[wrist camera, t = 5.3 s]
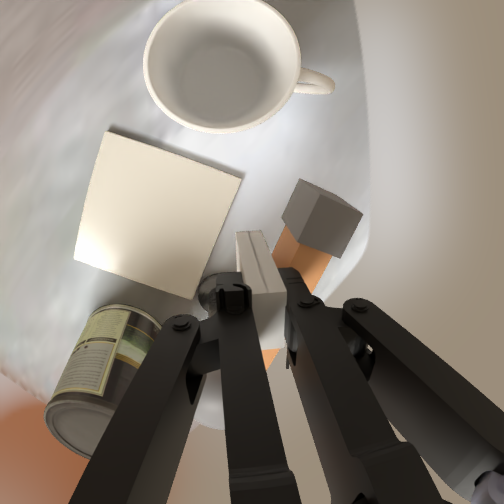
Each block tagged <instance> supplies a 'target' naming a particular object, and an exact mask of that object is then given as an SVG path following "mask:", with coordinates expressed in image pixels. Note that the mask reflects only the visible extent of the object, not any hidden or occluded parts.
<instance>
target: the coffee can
mask: <svg viewBox="0 0 504 504" xmlns="http://www.w3.org/2000/svg"><path fill="white" fill-rule="evenodd" d="M161 328H162V326H161V325H160V324H159V323H158V322H157V321H156V320H155V319H154V318H153V317H152V316H150V315H149V314H147V313H146V312H144V311H142V310H140V309H138V308H135V307H132V306H128V305H121V304H114V305H107V306H104V307H101V308H99V309H97V310H96V311H95V312H93V313H92V314H91V316H90V317H89V318H88V321H87V323H86V326H85V328H84V330H83V332H82V334H81V336H80V338H79V340H78V342H77V344H76V346H75V348H74V350H73V352H72V354H71V356H70V358H69V360H68V363H67V365H66V367H65V369H64V371H63V373H62V376H61V378H60V380H59V382H58V384H57V387H56V389H55V391H54V393H53V396H52V398H51V400H50V402H49V403H48V404H47V406H46V408H45V411H44V421H45V424H46V426H47V428H48V429H49V431H50V432H51V434H52V435H53V436H54V437H55V438H56V439H57V440H58V441H59V442H60V443H62V444H63V445H64V446H65V447H67V448H68V449H70V450H71V451H73V452H75V453H76V454H79V455H81V456H82V457H84V458H87V459H89V460H90V459H91V457H92V455H93V453H94V451H95V449H96V447H97V445H98V443H99V441H100V439H101V437H102V435H103V433H104V432H105V430H106V428H107V426H108V424H109V422H110V420H111V418H112V416H113V414H114V413H115V411H116V409H117V407H118V405H119V403H120V401H121V400H122V398H123V396H124V394H125V392H126V390H127V389H128V387H129V385H130V383H131V381H132V379H133V378H134V376H135V374H136V372H137V370H138V369H139V367H140V365H141V363H142V361H143V360H144V358H145V356H146V354H147V352H148V351H149V349H150V347H151V345H152V344H153V342H154V340H155V338H156V337H157V335H158V333H159V331H160V330H161Z"/></svg>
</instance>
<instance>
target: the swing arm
mask: <svg viewBox="0 0 504 504" xmlns="http://www.w3.org/2000/svg"><path fill="white" fill-rule="evenodd" d="M362 216H363V214H362V213H361V212H360V211H358V210H357V209H355V208H354V207H353V206H351V205H350V204H348V203H347V202H346V201H344V200H343V199H341V198H340V197H338V196H337V195H335V194H333V193H331V192H329V191H326V190H324V189H322V188H320V187H318V186H315V185H313V184H311V183H309V182H307V181H304V180H302V179H299V181H298V183H297V185H296V187H295V189H294V192H293V194H292V196H291V198H290V200H289V202H288V205H287V207H286V209H285V211H284V213H283V215H282V219H283V221H284V223H285V224H286V225H285V227H284V230H283V232H282V234H281V236H280V238H279V240H278V242H277V244H276V247H275V249H274V251H273V253H272V258H273V260H274V262H275V265H276V267H277V268H286V267H293V268H294V269H296V270H297V271H299V272H300V274H301V276H302V278H303V280H304V282H305V283H306V285H307V287H308V289H309V291H310V293H311V294H312V292H313V290H314V289H315V287H316V285H317V283H318V281H319V279H320V278H321V276H322V274H323V272H324V270H325V268H326V267H327V265H328V263H329V261H330V259H331V257H332V256H335V257H337V258H341V256H342V254H343V253H344V251H345V249H346V247H347V245H348V243H349V241H350V239H351V237H352V235H353V233H354V231H355V230H356V228H357V226H358V224H359V222H360V220H361V218H362ZM279 349H280V348H277V349H268V350H261V351H262V355H263V359H264V364H265V368H266V370H267V369H268V367H269V366H270V364H271V362H272V361H273V359H274V357H275V356H276V354H277V353H278V351H279ZM194 419H195V420H196V421H197V422H198V423H200V424H202V425H204V426H206V427H210V428H214V429H220V430H225V424H224V412H223V399H222V385H221V370H220V369H219V370H216V371H213V372H210V373H207V378H206V381H205V384H204V387H203V391H202V394H201V397H200V400H199V403H198V406H197V409H196V412H195V415H194Z"/></svg>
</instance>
